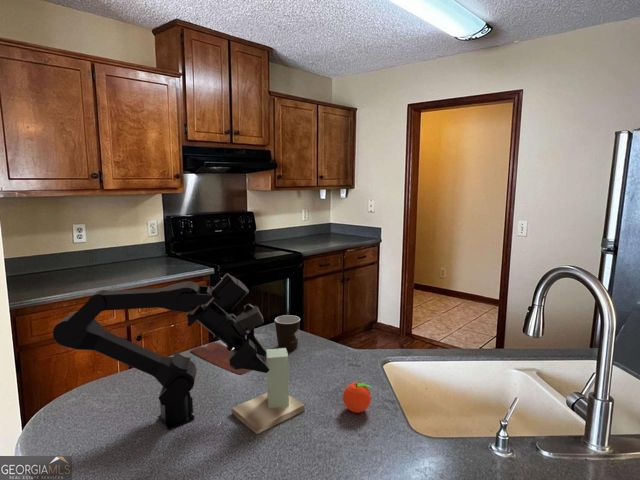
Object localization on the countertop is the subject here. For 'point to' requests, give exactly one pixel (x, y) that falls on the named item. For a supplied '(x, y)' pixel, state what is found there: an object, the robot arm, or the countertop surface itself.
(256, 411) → the birch board
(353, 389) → the clementine
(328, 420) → the countertop surface
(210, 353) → the wooden tablet
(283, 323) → the coffee mug
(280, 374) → the green block
